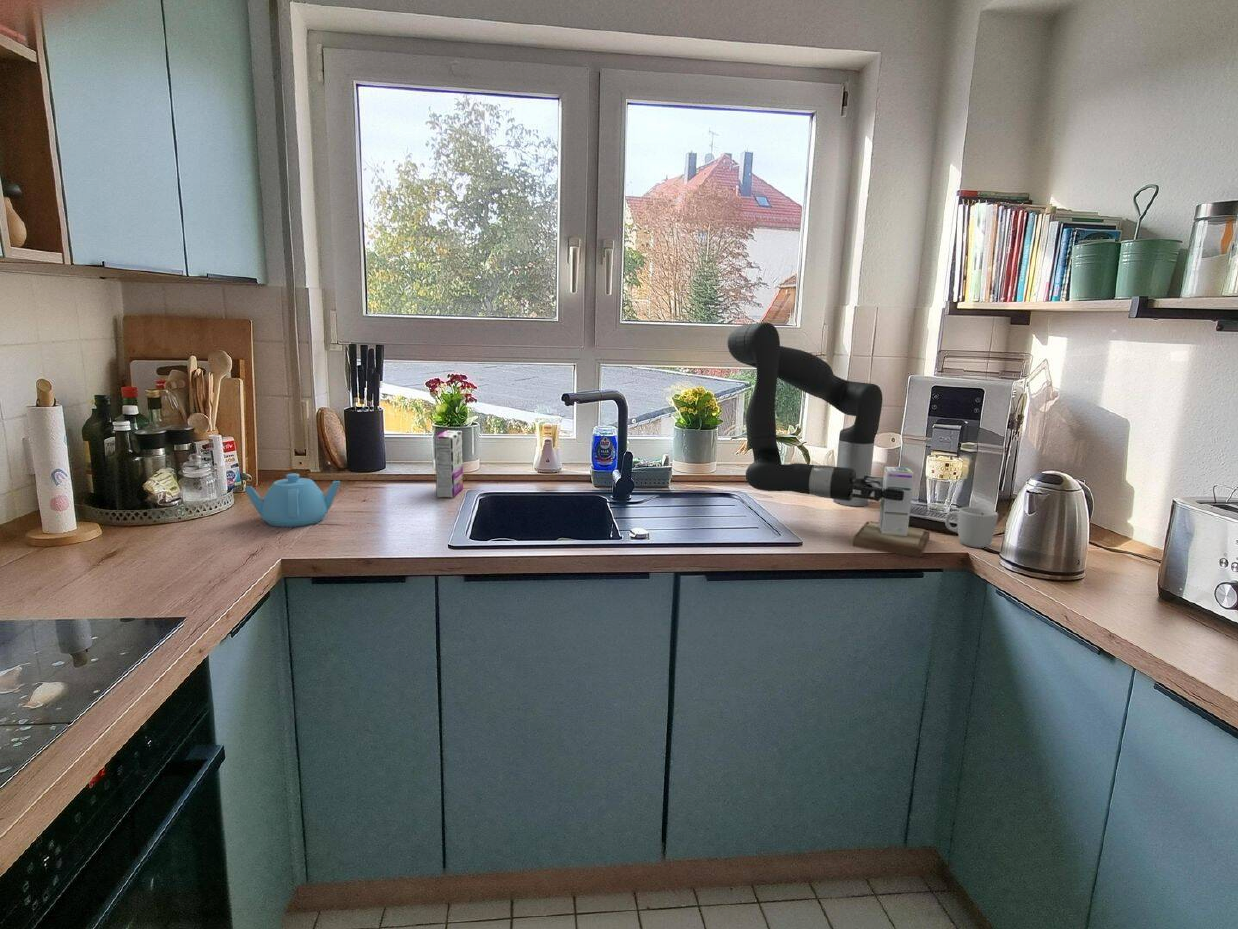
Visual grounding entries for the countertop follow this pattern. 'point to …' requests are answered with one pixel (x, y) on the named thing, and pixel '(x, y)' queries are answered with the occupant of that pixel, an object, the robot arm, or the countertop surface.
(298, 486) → the teapot
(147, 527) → the countertop surface
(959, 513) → the cup
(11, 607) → the countertop surface
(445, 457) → the candy bar box
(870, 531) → the riser
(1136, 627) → the countertop surface
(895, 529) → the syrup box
